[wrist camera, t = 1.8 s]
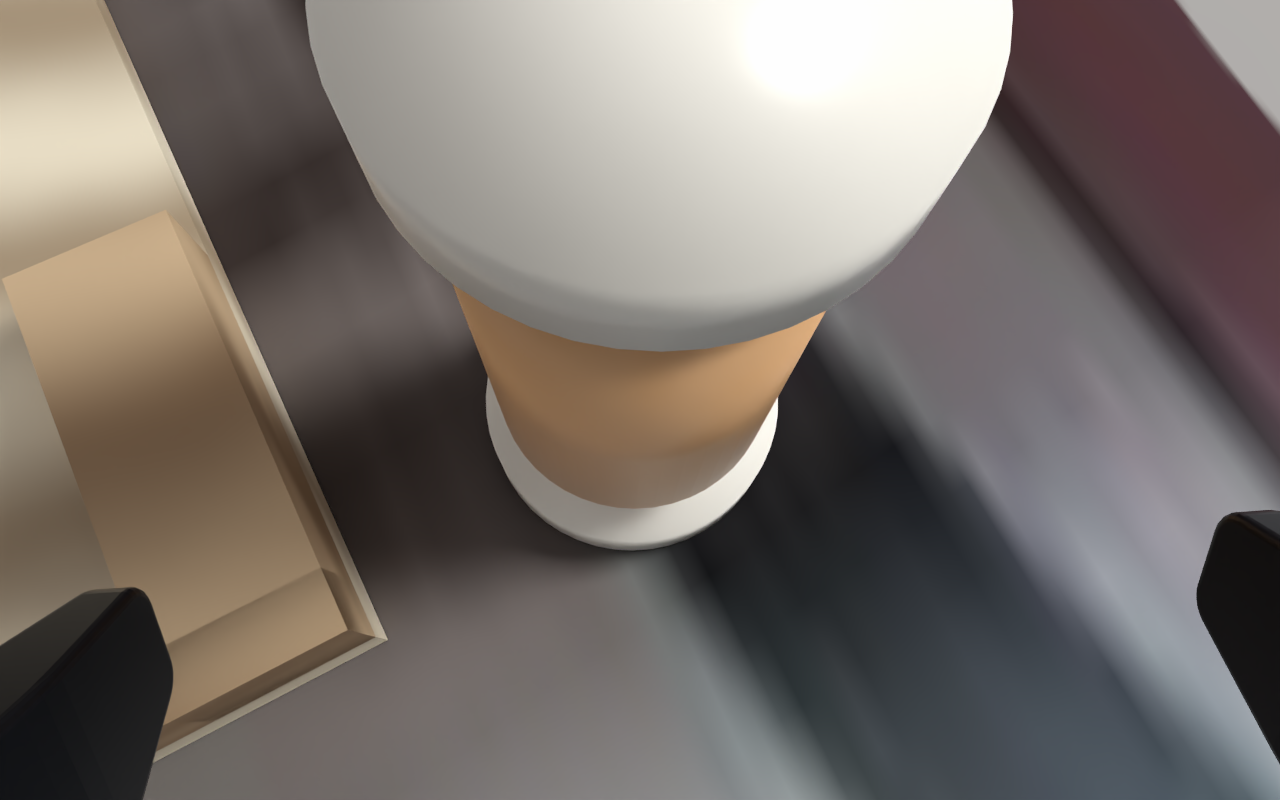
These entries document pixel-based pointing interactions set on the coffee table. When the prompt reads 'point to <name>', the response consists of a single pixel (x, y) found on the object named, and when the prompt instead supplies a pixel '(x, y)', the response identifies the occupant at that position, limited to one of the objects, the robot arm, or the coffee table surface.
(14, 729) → the robot arm
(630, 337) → the bobbin
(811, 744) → the coffee table surface
